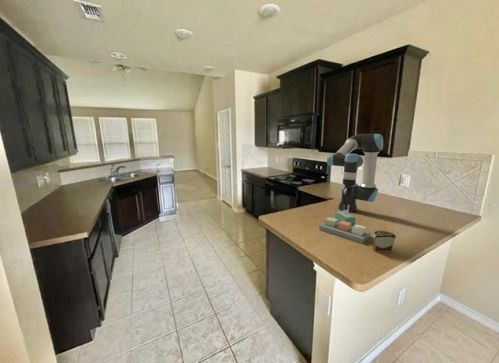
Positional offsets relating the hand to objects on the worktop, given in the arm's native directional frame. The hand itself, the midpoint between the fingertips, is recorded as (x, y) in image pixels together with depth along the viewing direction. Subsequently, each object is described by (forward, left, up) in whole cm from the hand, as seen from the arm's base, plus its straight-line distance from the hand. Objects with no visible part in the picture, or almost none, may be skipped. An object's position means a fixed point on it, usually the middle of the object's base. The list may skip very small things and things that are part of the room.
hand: (345, 214), depth 143 cm
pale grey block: (0, +9, -10) cm, 14 cm away
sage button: (0, -9, -10) cm, 14 cm away
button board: (0, 0, -13) cm, 13 cm away
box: (-16, -6, -14) cm, 22 cm away
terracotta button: (0, 0, -10) cm, 10 cm away
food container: (+6, +23, -14) cm, 27 cm away
